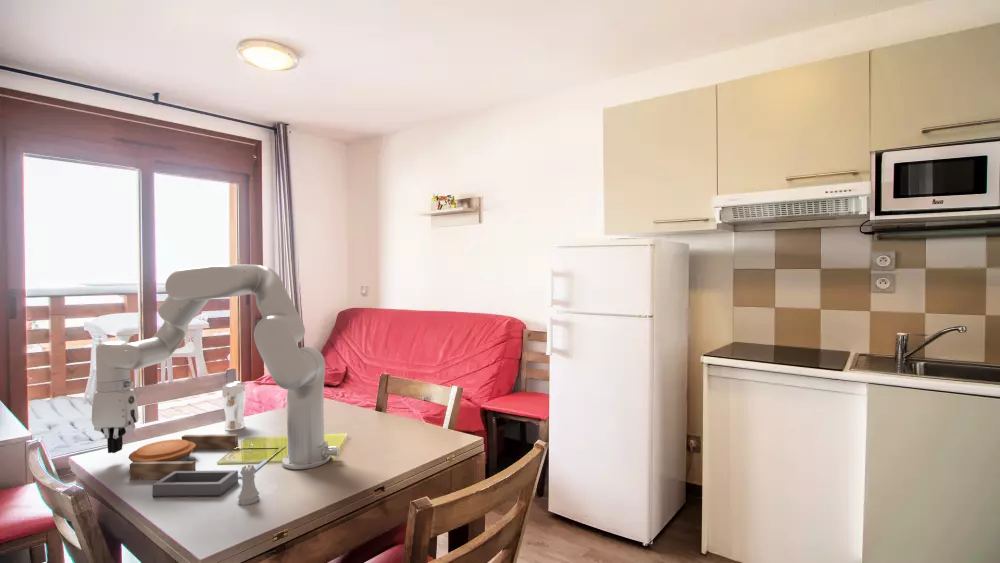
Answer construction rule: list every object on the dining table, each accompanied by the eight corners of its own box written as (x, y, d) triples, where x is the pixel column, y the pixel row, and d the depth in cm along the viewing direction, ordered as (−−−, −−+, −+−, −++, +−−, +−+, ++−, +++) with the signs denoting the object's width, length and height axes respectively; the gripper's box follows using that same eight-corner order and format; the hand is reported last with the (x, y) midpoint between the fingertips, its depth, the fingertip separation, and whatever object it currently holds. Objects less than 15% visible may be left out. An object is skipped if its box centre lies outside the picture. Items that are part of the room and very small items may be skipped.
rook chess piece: (242, 497, 118) (242, 463, 118) (262, 496, 119) (261, 462, 119) (234, 506, 114) (233, 471, 114) (255, 505, 114) (254, 470, 114)
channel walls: (238, 447, 152) (237, 434, 152) (192, 478, 129) (191, 463, 129) (185, 448, 152) (184, 434, 152) (130, 479, 129) (129, 464, 129)
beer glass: (218, 430, 169) (217, 385, 168) (236, 423, 175) (235, 380, 175) (233, 432, 166) (232, 387, 166) (251, 426, 172) (249, 382, 172)
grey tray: (238, 482, 127) (237, 470, 127) (220, 496, 119) (220, 484, 119) (174, 482, 127) (174, 471, 127) (152, 497, 119) (152, 484, 119)
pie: (149, 454, 147) (149, 437, 147) (205, 451, 149) (205, 434, 149) (115, 476, 132) (114, 457, 132) (178, 472, 134) (177, 454, 134)
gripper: (150, 382, 144) (151, 446, 144) (97, 382, 144) (99, 446, 144) (130, 389, 136) (132, 456, 137) (75, 389, 136) (77, 456, 137)
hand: (115, 451), depth 141 cm, fingers closed
